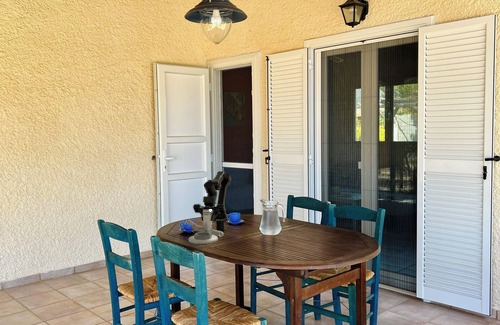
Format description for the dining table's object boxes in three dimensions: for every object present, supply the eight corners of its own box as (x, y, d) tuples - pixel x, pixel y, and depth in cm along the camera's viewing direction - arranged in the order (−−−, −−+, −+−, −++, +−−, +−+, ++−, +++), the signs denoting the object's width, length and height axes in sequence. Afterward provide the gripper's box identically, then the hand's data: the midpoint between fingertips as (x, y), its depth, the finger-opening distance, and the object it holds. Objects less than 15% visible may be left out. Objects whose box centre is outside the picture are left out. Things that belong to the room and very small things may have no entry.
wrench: (221, 241, 279) (183, 231, 295) (223, 241, 281) (185, 230, 297) (222, 228, 278) (184, 219, 294) (224, 228, 280) (186, 218, 296)
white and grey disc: (194, 236, 282) (194, 230, 281) (221, 237, 278) (220, 230, 278) (184, 243, 265) (184, 236, 265) (212, 244, 261) (212, 237, 261)
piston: (208, 230, 273) (207, 208, 272) (214, 231, 269) (213, 209, 268) (201, 231, 269) (200, 209, 268) (207, 233, 265) (206, 210, 264)
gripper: (193, 190, 273) (187, 212, 263) (223, 190, 269) (219, 213, 259) (197, 201, 281) (192, 223, 271) (227, 201, 277) (223, 223, 267)
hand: (206, 220), depth 267 cm, fingers closed on piston, 5 cm apart
